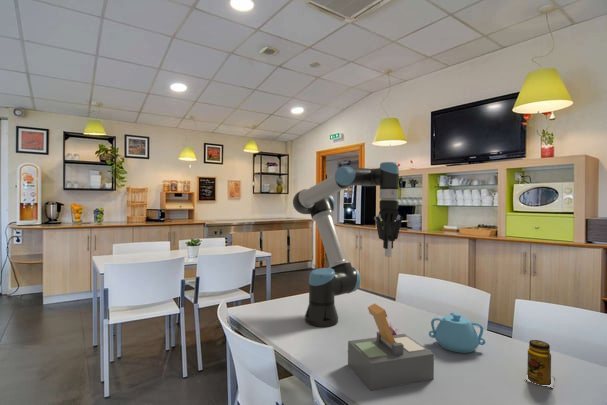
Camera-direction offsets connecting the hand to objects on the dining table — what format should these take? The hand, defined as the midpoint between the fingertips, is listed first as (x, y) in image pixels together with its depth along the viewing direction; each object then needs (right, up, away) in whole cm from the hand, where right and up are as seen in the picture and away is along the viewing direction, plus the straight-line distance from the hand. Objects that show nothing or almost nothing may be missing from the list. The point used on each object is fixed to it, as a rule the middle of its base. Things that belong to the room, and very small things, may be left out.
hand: (388, 256), depth 139 cm
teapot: (+24, -33, -9) cm, 42 cm away
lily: (0, -33, -8) cm, 34 cm away
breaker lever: (-7, -24, -30) cm, 39 cm away
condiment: (+39, -34, -34) cm, 62 cm away
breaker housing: (-7, -33, -30) cm, 45 cm away
